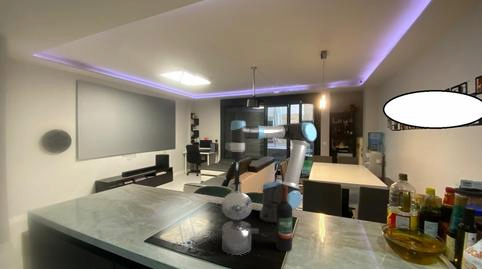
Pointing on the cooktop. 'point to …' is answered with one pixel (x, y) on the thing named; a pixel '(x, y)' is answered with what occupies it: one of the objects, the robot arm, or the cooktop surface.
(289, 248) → the wine bottle
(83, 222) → the cooktop surface
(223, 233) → the pot
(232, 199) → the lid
